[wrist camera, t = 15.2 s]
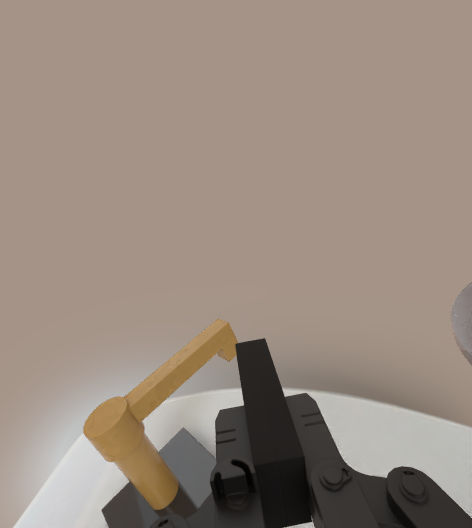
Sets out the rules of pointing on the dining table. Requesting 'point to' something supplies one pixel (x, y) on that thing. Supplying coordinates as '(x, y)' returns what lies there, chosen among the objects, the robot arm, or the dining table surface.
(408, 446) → the dining table surface
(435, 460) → the dining table surface
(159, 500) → the faucet base
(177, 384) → the spout
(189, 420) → the dining table surface
